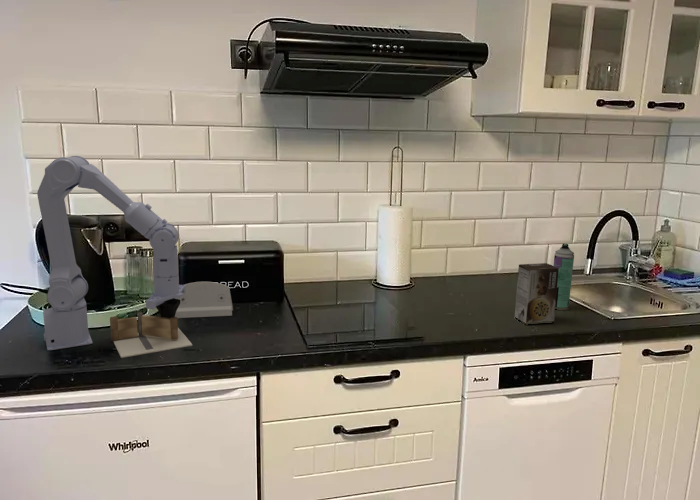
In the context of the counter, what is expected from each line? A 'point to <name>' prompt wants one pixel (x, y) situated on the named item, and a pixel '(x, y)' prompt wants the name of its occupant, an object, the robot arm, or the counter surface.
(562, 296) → the spray can
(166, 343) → the card
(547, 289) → the coffee box
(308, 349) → the counter surface
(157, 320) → the panel
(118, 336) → the fence fixed
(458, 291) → the counter surface
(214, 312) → the hinge
